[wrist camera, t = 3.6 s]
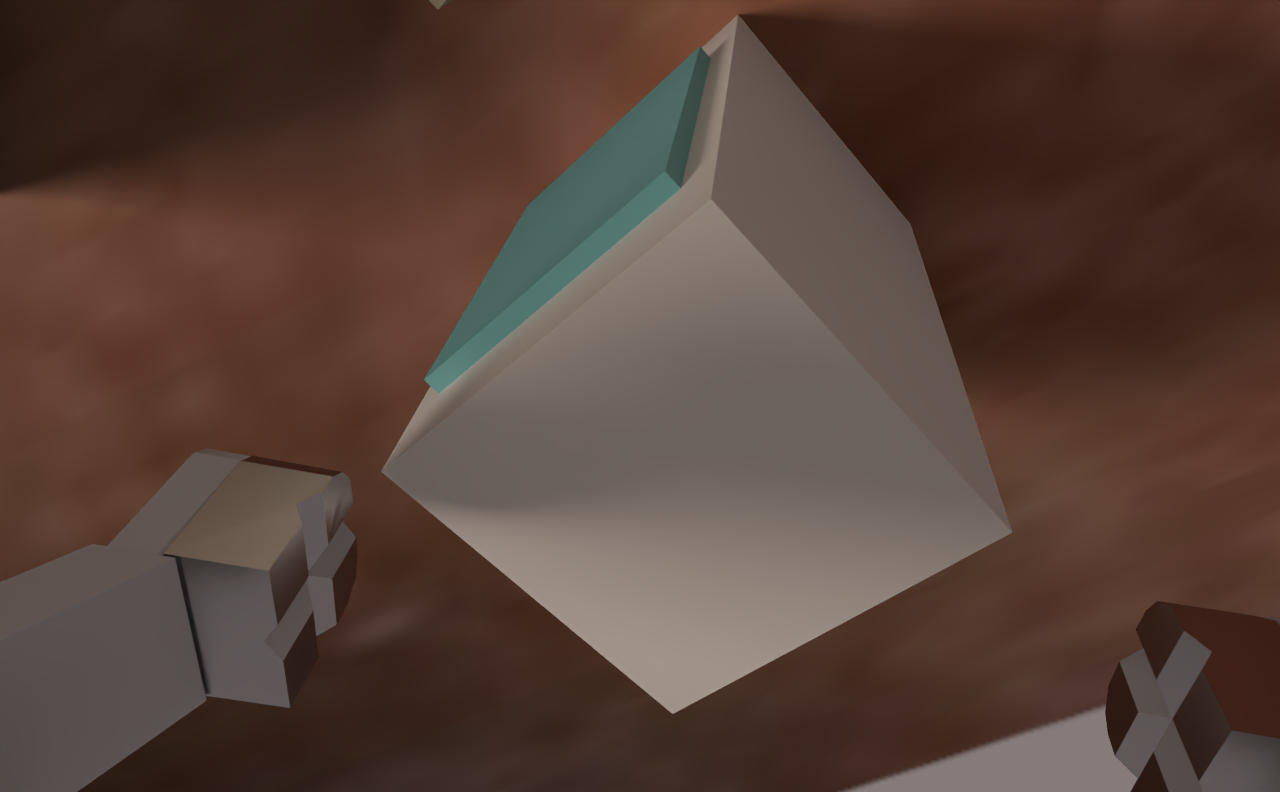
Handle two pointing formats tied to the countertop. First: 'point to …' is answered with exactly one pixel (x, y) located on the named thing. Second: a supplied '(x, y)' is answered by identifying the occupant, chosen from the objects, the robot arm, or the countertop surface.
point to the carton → (706, 390)
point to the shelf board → (440, 3)
